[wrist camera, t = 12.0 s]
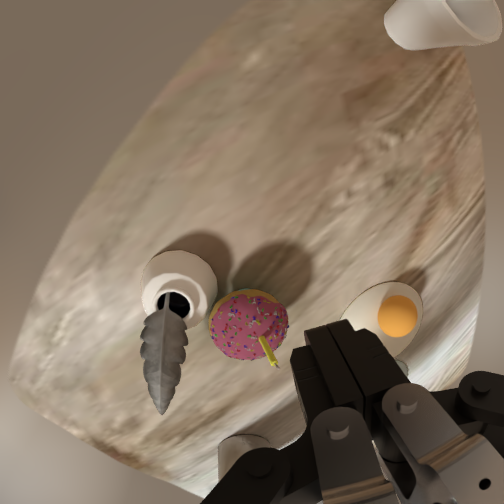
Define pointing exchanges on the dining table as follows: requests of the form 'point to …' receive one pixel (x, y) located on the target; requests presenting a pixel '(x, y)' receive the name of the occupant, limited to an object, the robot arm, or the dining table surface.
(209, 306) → the inkwell
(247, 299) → the cupcake
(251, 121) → the dining table surface
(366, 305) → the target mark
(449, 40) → the foam cup
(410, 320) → the ball
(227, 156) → the dining table surface
